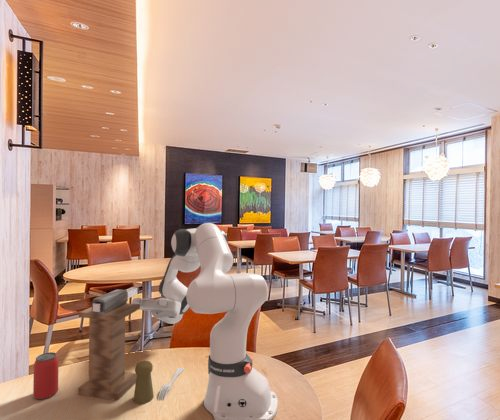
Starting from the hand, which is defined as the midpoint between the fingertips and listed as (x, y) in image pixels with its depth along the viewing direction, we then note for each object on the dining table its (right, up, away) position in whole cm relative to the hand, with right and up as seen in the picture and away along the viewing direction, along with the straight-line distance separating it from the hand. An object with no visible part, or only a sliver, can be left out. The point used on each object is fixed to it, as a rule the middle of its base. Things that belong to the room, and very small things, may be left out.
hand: (147, 300), depth 126 cm
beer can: (-23, -22, -27) cm, 42 cm away
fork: (+15, -23, -20) cm, 34 cm away
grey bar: (-4, +5, -19) cm, 20 cm away
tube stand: (-5, -22, -23) cm, 32 cm away
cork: (+8, -22, -29) cm, 37 cm away
